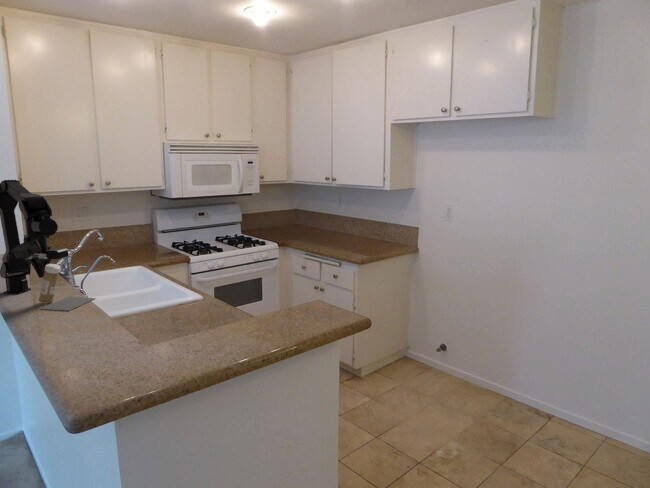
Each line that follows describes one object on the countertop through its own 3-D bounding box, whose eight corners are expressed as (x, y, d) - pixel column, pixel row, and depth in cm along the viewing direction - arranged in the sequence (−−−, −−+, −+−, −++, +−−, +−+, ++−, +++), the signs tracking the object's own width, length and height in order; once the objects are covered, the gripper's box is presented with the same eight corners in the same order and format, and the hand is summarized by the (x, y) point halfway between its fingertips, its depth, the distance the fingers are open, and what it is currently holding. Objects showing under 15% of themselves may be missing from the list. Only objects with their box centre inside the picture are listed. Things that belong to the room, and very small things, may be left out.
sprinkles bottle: (54, 303, 163) (62, 268, 160) (39, 304, 160) (47, 268, 157) (51, 297, 166) (58, 263, 163) (36, 297, 163) (44, 262, 160)
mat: (39, 309, 156) (39, 308, 156) (68, 297, 169) (68, 296, 169) (69, 311, 154) (69, 310, 154) (95, 299, 168) (95, 298, 168)
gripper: (-8, 236, 152) (-2, 282, 155) (43, 237, 149) (48, 284, 152) (19, 231, 163) (24, 274, 166) (67, 232, 160) (71, 276, 163)
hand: (41, 277), depth 161 cm, fingers closed
